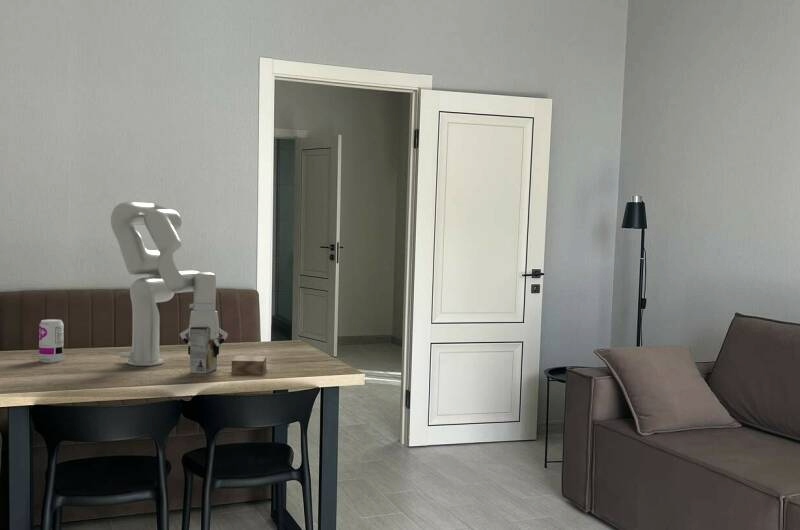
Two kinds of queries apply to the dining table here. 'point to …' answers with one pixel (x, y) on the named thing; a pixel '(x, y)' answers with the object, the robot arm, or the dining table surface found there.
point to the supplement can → (51, 340)
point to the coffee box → (202, 351)
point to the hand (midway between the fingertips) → (203, 356)
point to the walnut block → (248, 364)
